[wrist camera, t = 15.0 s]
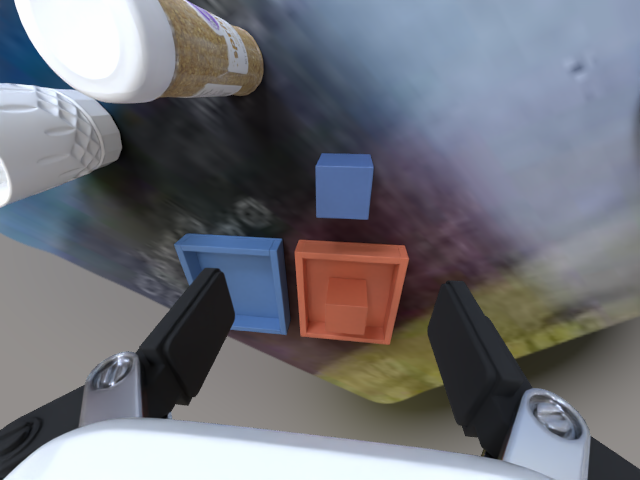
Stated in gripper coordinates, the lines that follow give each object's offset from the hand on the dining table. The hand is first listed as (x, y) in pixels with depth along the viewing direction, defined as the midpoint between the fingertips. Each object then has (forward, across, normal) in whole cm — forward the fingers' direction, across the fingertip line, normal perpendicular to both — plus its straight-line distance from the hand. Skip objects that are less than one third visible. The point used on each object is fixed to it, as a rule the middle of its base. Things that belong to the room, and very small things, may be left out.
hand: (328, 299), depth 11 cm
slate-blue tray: (+16, +12, +13) cm, 24 cm away
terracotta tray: (+15, -1, +13) cm, 20 cm away
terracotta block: (+15, -1, +13) cm, 20 cm away
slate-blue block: (+15, 0, -1) cm, 15 cm away
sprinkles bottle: (+16, +8, -10) cm, 20 cm away
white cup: (+16, +24, -5) cm, 30 cm away
